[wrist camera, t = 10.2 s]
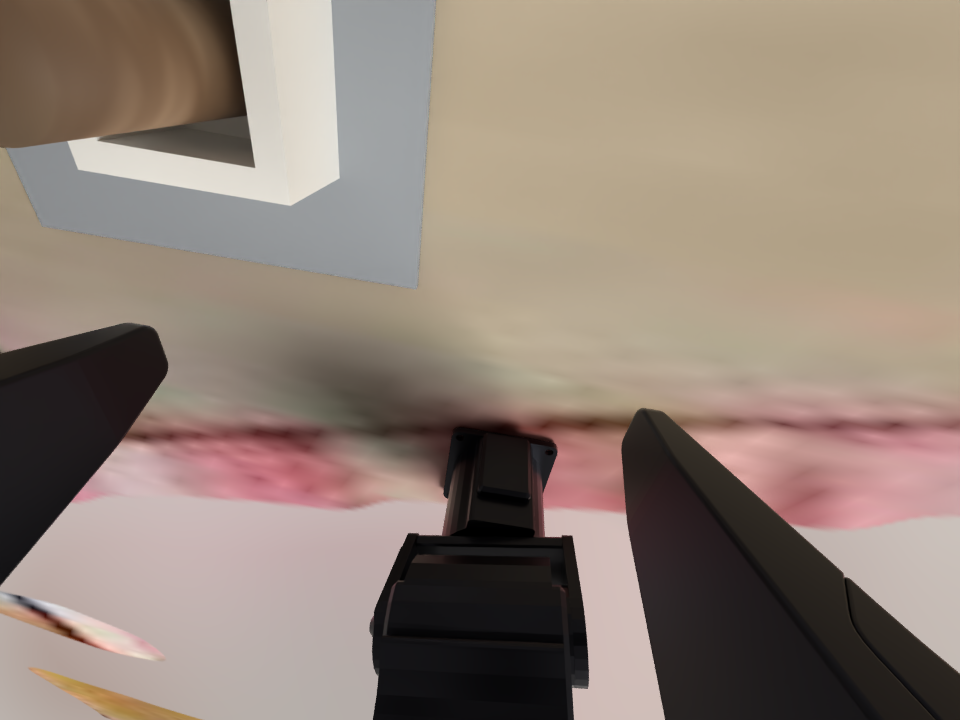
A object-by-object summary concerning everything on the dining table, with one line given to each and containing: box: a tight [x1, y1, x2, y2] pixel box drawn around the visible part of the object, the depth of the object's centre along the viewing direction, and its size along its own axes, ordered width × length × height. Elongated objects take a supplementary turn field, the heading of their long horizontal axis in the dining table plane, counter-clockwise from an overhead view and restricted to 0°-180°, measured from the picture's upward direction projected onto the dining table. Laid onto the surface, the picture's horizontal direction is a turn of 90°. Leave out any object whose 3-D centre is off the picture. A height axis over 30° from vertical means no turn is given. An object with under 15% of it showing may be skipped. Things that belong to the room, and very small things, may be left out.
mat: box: [6, 0, 436, 289], centre depth 17 cm, size 12×18×1 cm, turn 82°
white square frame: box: [67, 0, 340, 206], centre depth 13 cm, size 7×7×4 cm
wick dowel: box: [0, 0, 247, 148], centre depth 11 cm, size 3×3×9 cm
